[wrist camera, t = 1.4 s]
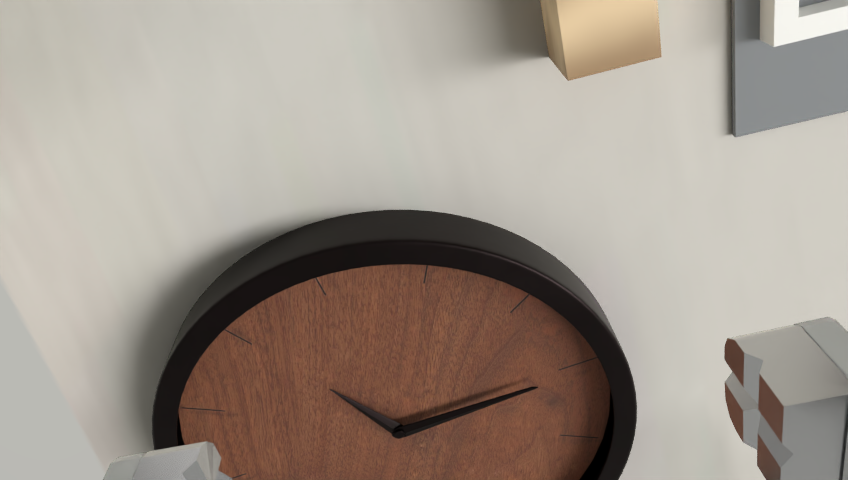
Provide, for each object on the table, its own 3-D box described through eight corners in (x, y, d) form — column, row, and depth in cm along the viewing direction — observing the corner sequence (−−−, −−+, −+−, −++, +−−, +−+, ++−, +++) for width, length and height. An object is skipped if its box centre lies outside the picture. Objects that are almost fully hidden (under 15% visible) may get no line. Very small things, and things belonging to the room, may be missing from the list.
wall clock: (161, 590, 51) (136, 214, 36) (175, 542, 55) (157, 181, 40) (572, 603, 55) (705, 267, 40) (560, 558, 58) (678, 233, 43)
